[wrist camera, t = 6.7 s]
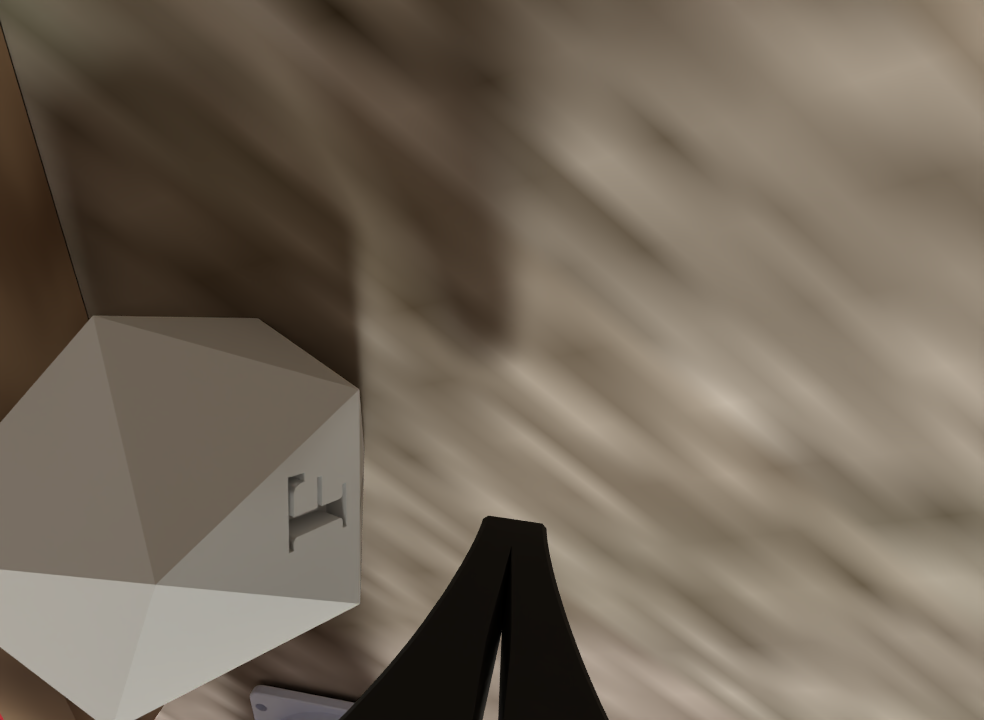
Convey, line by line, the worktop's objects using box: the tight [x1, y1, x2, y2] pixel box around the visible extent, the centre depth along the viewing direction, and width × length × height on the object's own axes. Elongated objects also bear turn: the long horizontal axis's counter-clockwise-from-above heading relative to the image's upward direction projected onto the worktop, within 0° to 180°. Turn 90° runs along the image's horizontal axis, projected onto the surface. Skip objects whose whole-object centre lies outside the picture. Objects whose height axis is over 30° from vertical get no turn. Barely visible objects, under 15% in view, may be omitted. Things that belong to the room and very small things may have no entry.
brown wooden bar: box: [0, 26, 164, 720], centre depth 15 cm, size 26×3×4 cm, turn 176°
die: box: [0, 316, 364, 720], centre depth 12 cm, size 8×9×10 cm
